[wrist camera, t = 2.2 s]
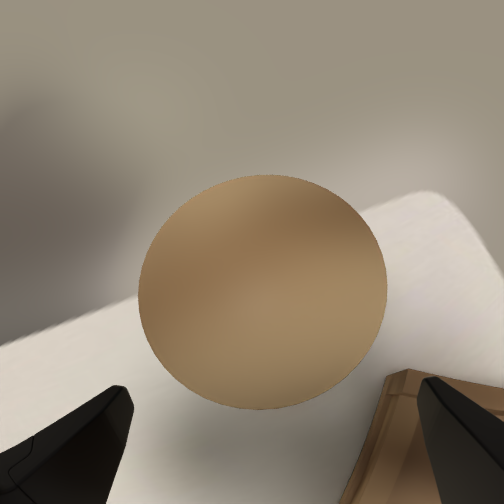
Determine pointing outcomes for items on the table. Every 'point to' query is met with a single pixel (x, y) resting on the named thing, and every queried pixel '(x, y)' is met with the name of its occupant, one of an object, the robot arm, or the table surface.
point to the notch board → (405, 443)
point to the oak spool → (262, 292)
